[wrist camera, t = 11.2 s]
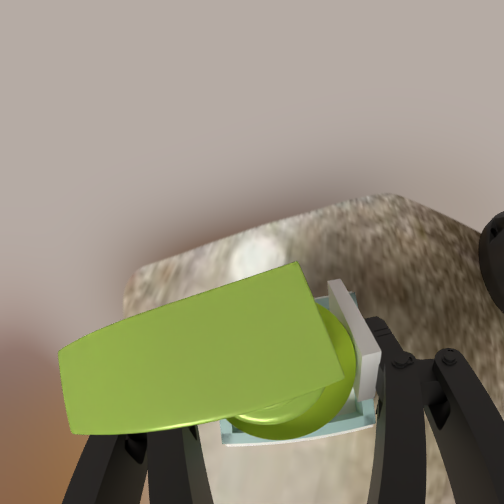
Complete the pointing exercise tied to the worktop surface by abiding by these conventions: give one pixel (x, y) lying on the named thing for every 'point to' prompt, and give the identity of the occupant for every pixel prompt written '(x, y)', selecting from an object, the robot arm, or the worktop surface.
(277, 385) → the soap dispenser
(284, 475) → the worktop surface
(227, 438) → the cradle
